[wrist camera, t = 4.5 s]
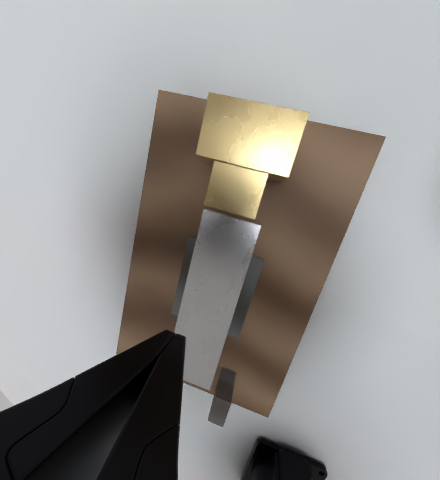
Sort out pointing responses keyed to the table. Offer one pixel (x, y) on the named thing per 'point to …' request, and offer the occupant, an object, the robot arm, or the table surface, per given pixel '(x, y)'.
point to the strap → (213, 290)
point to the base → (264, 254)
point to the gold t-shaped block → (246, 150)
